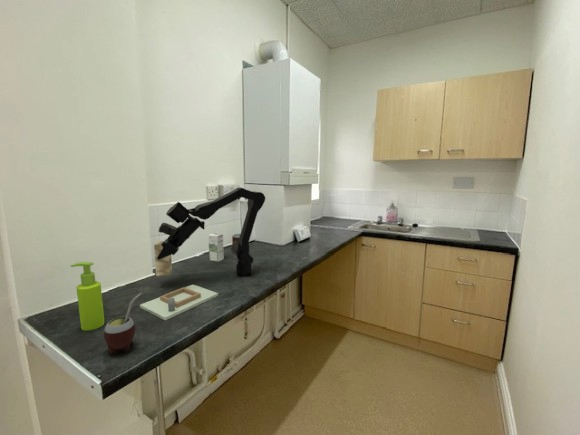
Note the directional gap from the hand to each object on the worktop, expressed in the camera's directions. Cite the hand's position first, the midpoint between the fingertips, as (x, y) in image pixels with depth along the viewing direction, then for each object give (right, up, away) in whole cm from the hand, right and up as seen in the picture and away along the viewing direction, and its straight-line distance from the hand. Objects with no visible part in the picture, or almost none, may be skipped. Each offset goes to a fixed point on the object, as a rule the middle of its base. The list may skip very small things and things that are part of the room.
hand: (159, 256), depth 113 cm
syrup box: (+13, -7, +37) cm, 40 cm away
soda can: (+24, -6, +45) cm, 52 cm away
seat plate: (+13, -15, -11) cm, 23 cm away
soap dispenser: (-8, -17, -28) cm, 34 cm away
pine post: (+1, -7, +1) cm, 7 cm away
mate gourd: (+9, -19, -39) cm, 44 cm away
